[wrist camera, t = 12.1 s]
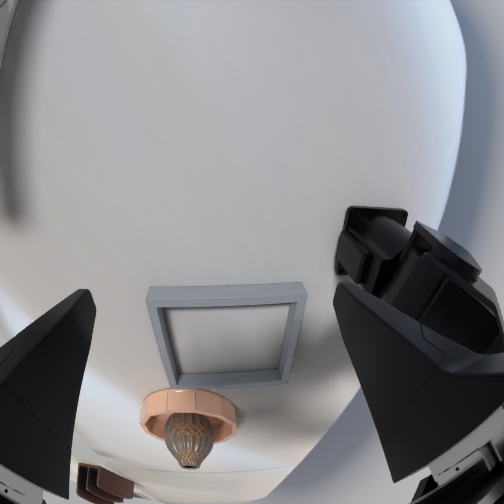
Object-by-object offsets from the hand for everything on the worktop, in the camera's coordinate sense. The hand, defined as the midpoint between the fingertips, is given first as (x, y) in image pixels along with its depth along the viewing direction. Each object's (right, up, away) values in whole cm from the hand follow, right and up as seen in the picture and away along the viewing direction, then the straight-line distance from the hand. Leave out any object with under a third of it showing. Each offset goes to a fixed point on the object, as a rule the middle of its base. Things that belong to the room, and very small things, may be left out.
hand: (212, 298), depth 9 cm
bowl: (-8, -21, +25) cm, 34 cm away
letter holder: (-48, -73, +48) cm, 99 cm away
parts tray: (-1, -7, +18) cm, 19 cm away
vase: (-8, -22, +24) cm, 33 cm away
